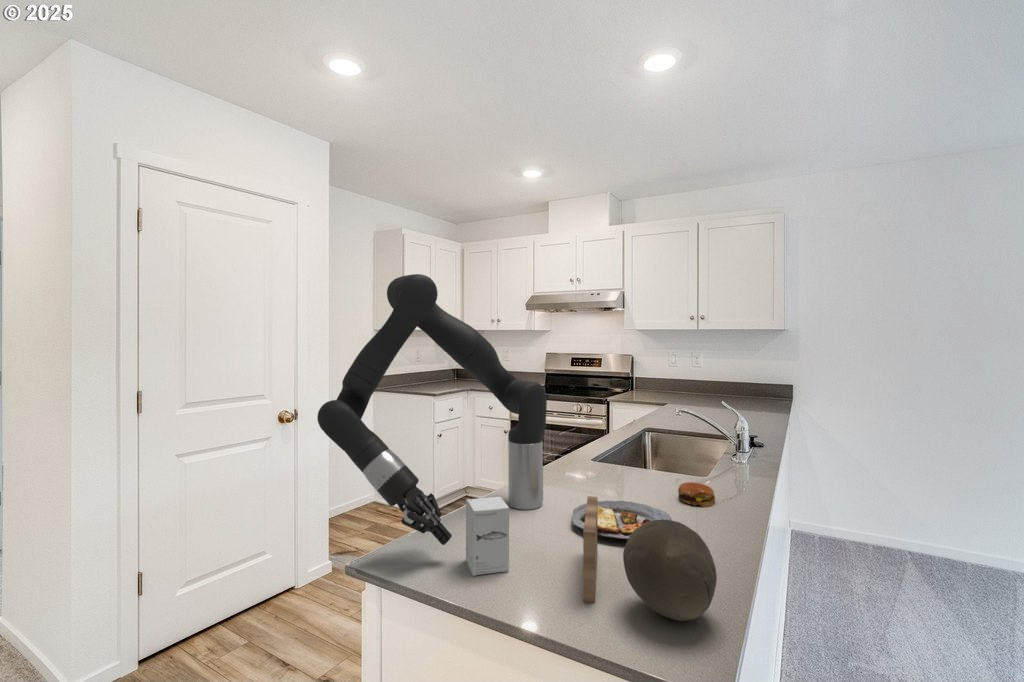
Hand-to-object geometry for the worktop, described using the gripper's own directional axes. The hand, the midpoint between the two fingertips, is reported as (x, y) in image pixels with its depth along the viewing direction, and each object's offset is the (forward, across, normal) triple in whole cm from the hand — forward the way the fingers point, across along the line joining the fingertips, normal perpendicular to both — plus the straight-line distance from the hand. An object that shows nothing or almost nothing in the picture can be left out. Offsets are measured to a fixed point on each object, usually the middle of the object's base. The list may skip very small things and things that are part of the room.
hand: (447, 540), depth 100 cm
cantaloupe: (+32, -11, -26) cm, 43 cm away
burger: (+43, +48, -36) cm, 73 cm away
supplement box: (+9, 0, -2) cm, 9 cm away
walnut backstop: (+23, 0, -17) cm, 29 cm away
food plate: (+28, +26, -21) cm, 44 cm away
